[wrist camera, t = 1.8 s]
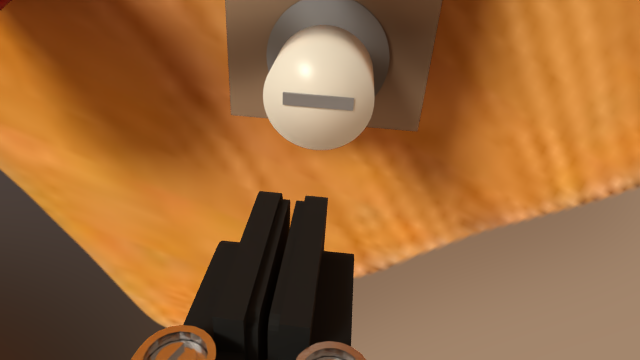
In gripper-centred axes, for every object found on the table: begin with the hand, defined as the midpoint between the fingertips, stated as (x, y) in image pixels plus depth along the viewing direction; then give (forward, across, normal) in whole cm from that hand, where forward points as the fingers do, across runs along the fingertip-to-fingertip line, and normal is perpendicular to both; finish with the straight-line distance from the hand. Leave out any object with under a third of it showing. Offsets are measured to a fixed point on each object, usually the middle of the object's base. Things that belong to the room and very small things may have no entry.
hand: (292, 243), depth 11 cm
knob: (+12, 0, -1) cm, 12 cm away
